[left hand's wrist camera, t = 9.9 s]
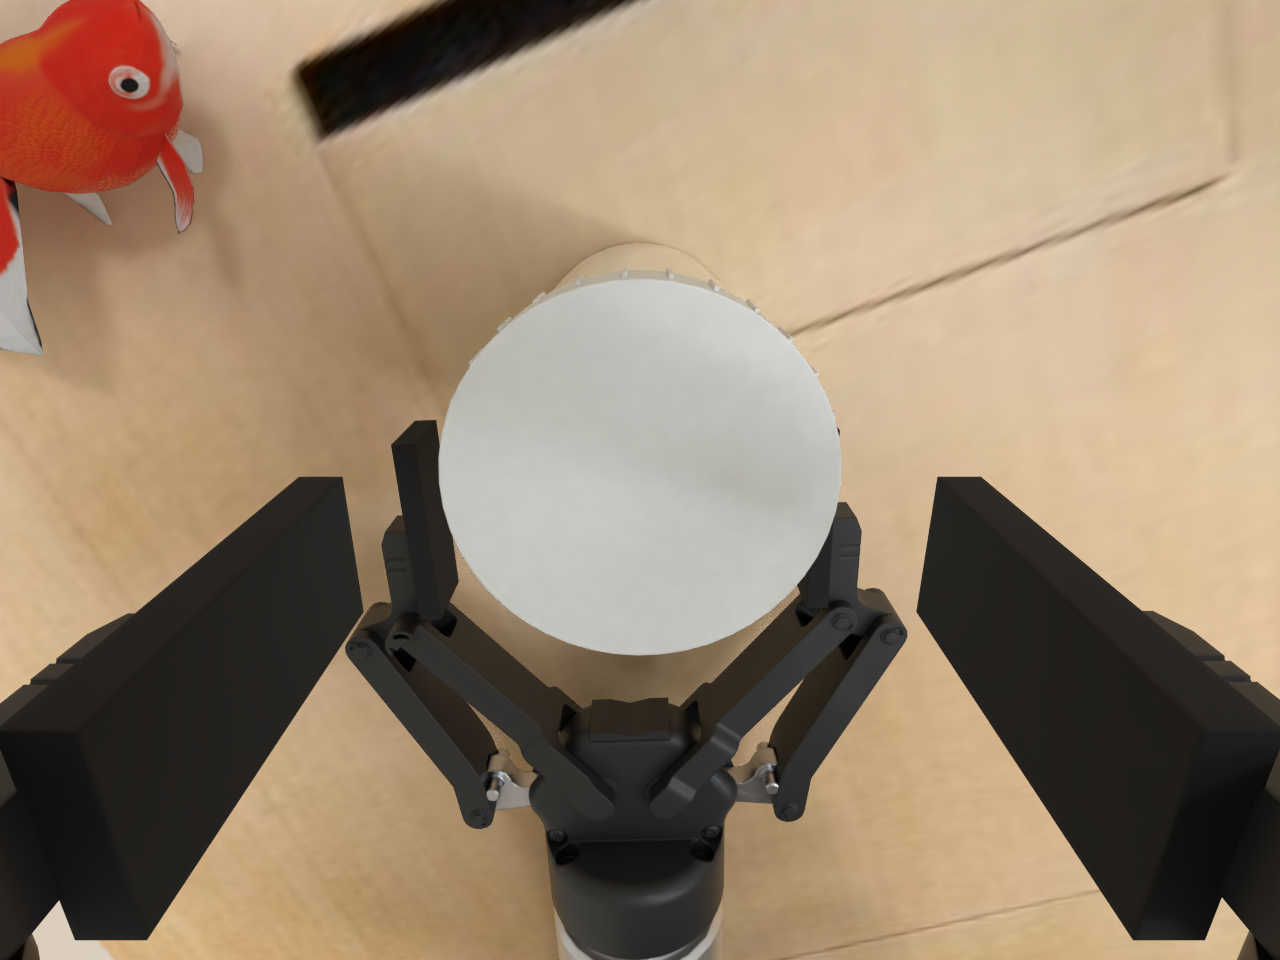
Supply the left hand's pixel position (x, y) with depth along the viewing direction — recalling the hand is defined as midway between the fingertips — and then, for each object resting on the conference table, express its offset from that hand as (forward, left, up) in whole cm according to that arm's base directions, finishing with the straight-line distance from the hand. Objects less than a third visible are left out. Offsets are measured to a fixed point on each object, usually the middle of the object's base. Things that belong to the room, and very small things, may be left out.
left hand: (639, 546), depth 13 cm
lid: (0, 0, -3) cm, 3 cm away
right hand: (+2, 0, -12) cm, 12 cm away
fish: (0, -22, -18) cm, 28 cm away
